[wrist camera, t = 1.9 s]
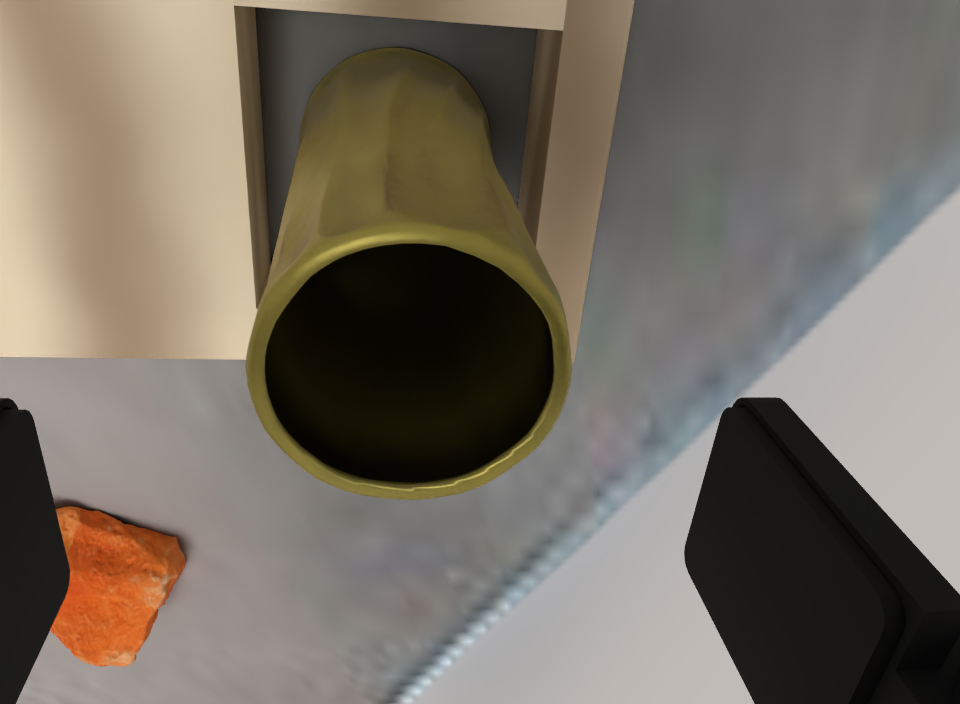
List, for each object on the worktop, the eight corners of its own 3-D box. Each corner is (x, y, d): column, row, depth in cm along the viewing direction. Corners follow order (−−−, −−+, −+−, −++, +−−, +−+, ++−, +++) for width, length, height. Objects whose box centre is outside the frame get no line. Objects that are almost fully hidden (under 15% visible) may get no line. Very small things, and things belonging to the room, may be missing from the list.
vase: (498, 222, 26) (605, 494, 14) (322, 247, 25) (268, 548, 13) (480, 34, 23) (597, 165, 10) (279, 60, 22) (157, 226, 10)
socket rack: (605, -45, 22) (641, -40, 19) (552, 315, 28) (573, 363, 25) (-508, -148, 18) (-685, -163, 15) (-295, 298, 24) (-392, 352, 21)
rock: (8, 378, 27) (-49, 448, 24) (307, 499, 32) (298, 573, 28) (-85, 585, 32) (-146, 671, 28) (191, 666, 36) (170, 750, 32)
